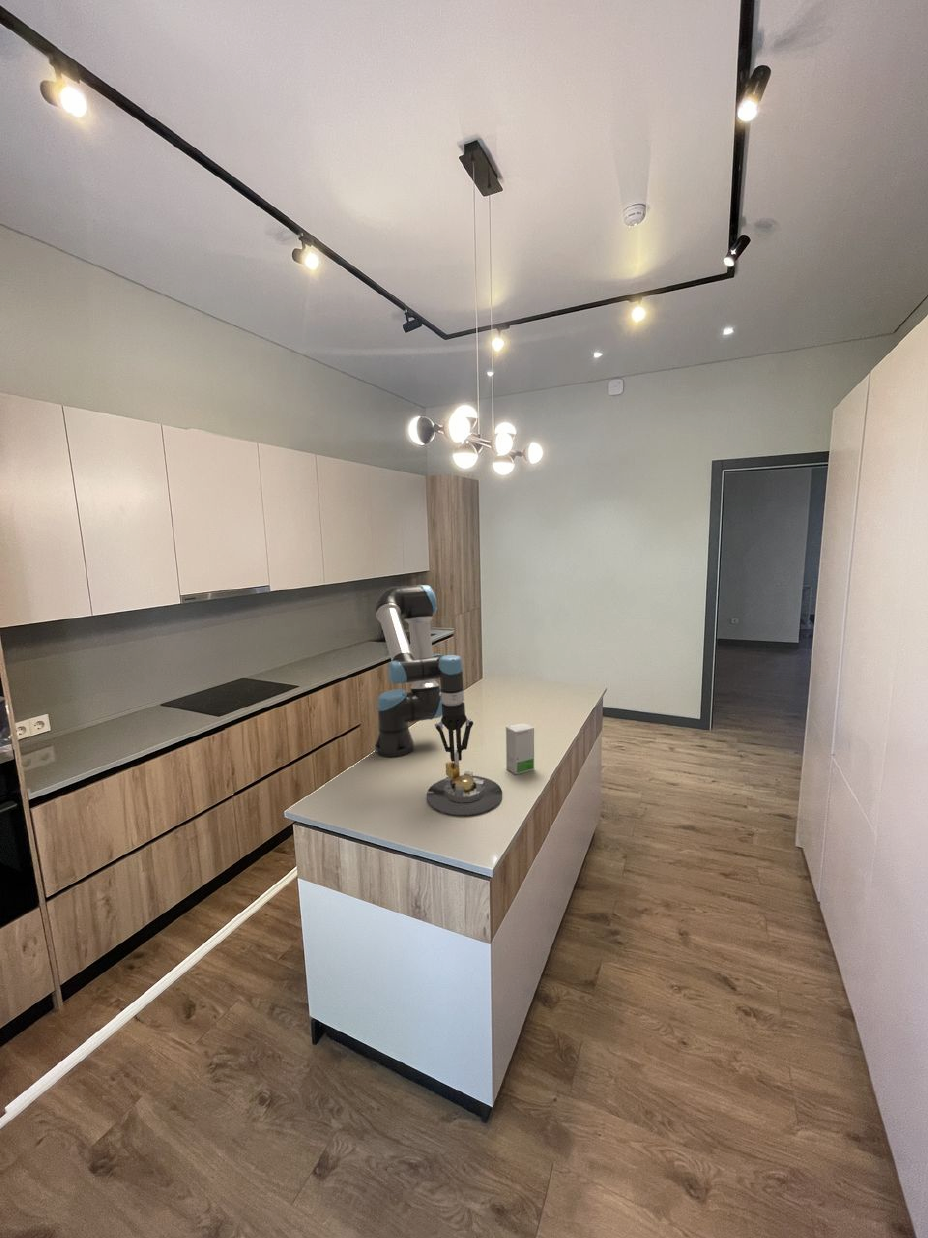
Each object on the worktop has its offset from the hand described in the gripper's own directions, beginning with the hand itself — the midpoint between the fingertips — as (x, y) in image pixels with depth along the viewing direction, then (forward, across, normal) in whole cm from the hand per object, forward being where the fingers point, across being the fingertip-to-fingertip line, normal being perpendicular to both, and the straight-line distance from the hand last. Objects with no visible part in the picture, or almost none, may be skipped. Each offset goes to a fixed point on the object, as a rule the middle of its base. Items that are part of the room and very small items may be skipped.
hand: (456, 769), depth 161 cm
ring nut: (+3, 0, -7) cm, 8 cm away
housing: (+5, 0, -9) cm, 10 cm away
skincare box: (+6, +24, +4) cm, 24 cm away
